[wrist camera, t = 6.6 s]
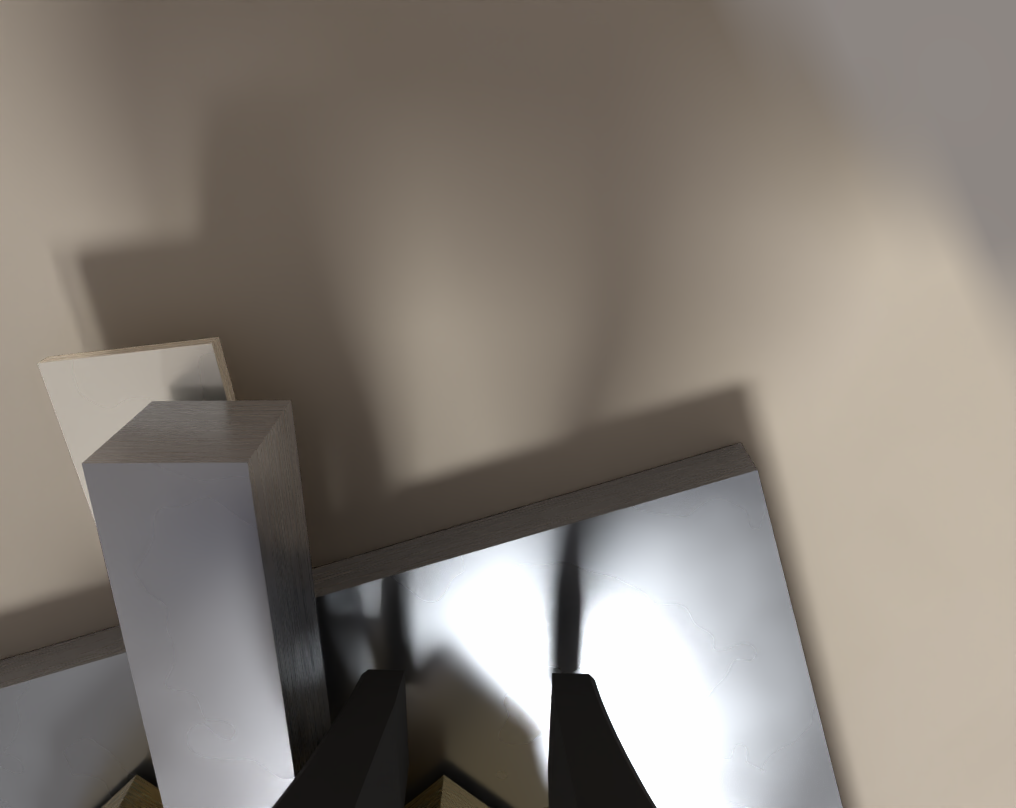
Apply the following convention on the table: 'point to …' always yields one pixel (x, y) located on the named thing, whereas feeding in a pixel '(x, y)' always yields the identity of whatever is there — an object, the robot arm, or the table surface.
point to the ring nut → (217, 602)
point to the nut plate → (482, 631)
